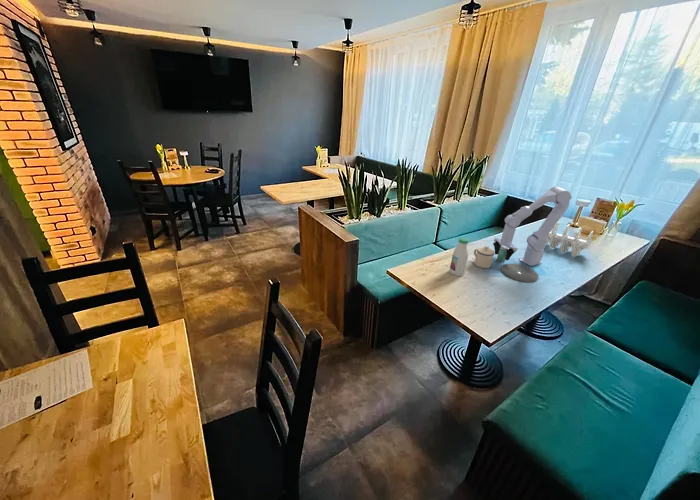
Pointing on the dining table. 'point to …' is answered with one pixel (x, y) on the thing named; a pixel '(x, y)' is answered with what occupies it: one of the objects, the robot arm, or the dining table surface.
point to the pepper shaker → (502, 254)
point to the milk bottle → (459, 258)
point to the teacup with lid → (483, 257)
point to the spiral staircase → (568, 240)
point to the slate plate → (519, 272)
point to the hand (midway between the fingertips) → (501, 256)
